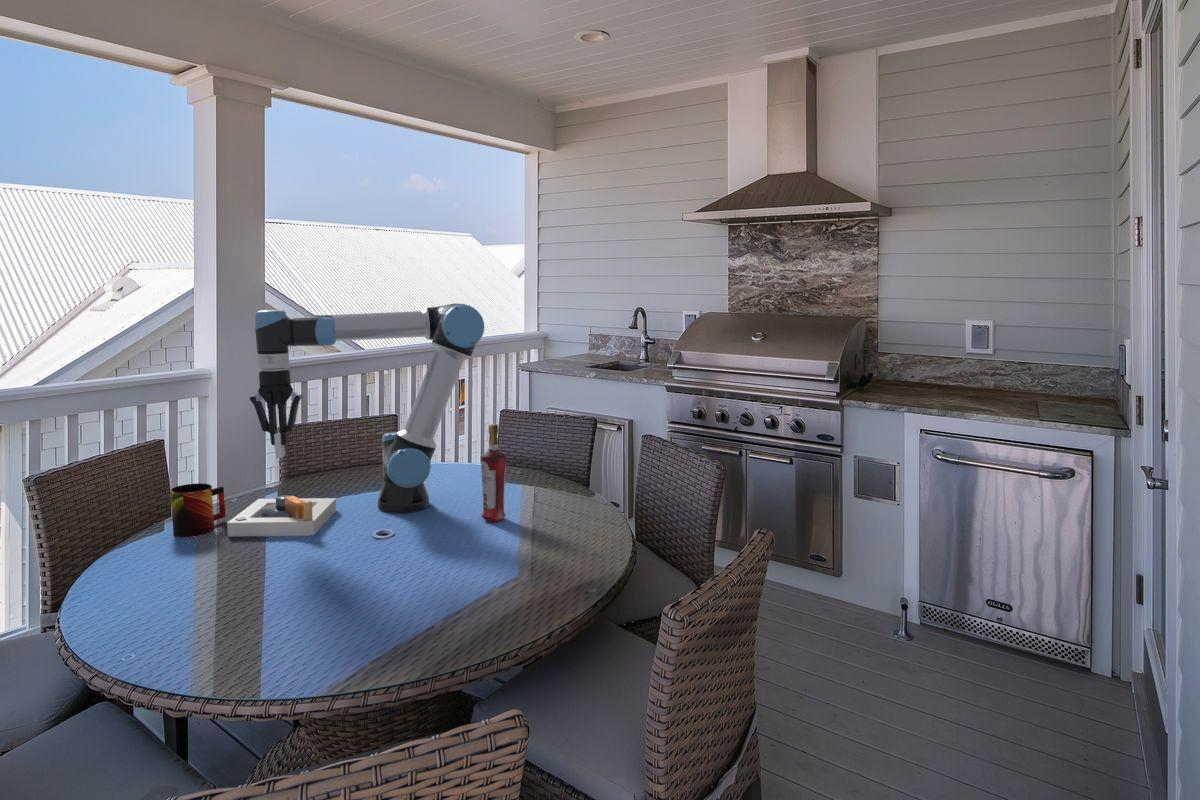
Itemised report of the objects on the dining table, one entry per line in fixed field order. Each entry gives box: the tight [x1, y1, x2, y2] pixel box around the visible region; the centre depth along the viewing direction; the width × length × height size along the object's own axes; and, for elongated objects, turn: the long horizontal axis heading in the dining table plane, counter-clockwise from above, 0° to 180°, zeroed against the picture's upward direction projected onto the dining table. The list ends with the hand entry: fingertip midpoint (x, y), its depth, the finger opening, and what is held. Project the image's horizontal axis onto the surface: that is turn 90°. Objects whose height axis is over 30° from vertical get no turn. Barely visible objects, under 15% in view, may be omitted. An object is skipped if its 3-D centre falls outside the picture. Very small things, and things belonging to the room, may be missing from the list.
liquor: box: [480, 423, 507, 523], centre depth 205 cm, size 7×7×28 cm
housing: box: [226, 497, 337, 537], centre depth 201 cm, size 22×22×9 cm
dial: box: [261, 495, 305, 518], centre depth 199 cm, size 17×12×6 cm
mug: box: [169, 483, 227, 538], centre depth 194 cm, size 10×14×12 cm
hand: (280, 456), depth 192 cm, fingers closed
